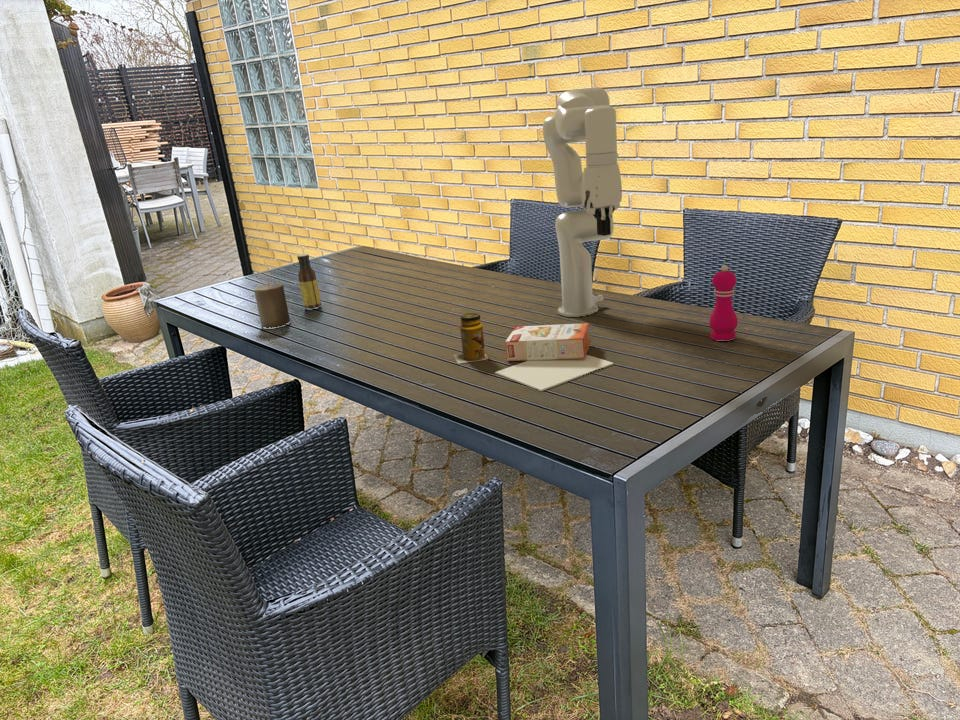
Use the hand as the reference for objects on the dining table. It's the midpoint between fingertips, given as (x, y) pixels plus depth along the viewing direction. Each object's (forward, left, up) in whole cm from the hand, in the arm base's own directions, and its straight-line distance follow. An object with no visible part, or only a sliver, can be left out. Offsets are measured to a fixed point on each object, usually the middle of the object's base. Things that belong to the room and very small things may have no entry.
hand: (603, 234), depth 186 cm
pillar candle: (+53, -104, -31) cm, 121 cm away
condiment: (+28, -24, -31) cm, 48 cm away
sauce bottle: (+35, -114, -31) cm, 123 cm away
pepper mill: (-26, +17, -31) cm, 44 cm away
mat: (+19, 0, -31) cm, 36 cm away
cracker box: (+5, -2, -27) cm, 28 cm away
